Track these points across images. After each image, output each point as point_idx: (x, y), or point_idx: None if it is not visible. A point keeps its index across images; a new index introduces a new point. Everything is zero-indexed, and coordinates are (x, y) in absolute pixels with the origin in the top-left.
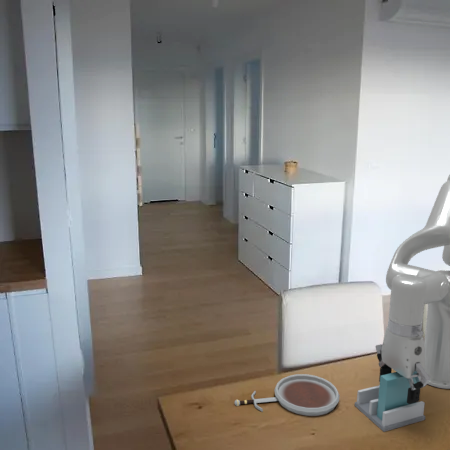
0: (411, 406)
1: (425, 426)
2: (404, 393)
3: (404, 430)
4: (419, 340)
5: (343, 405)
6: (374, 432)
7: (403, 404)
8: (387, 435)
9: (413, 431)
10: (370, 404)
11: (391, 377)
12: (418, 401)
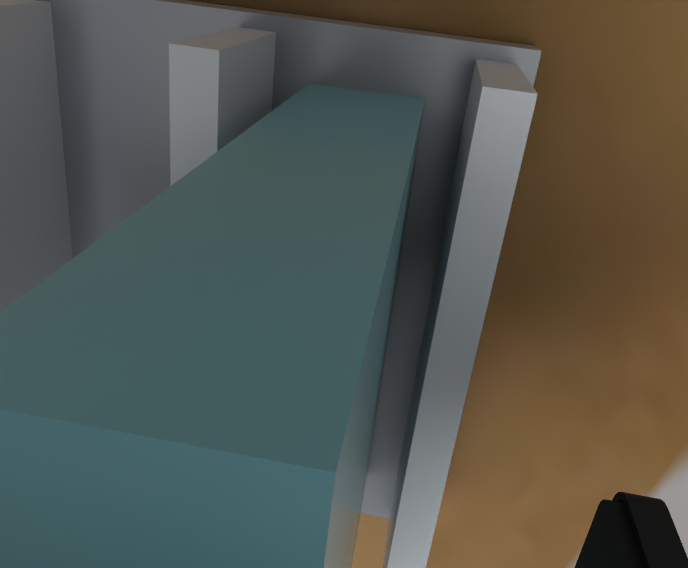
0: (478, 332)
1: (610, 145)
2: (361, 473)
3: (517, 365)
4: None
5: None
6: None
7: (382, 359)
8: (477, 509)
9: (578, 313)
10: None
11: None
12: (658, 503)
